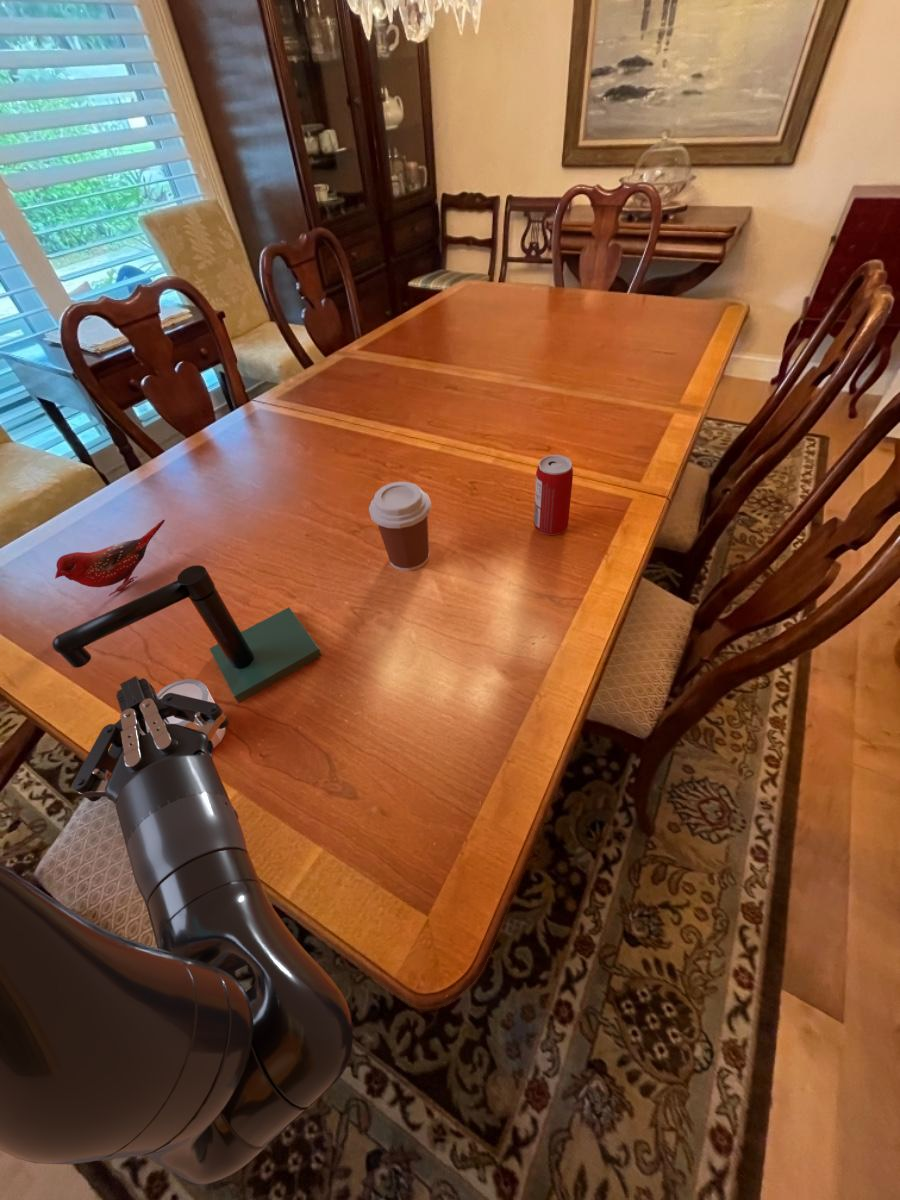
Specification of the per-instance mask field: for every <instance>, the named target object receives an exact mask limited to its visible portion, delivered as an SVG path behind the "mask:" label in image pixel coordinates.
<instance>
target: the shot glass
mask: <svg viewBox="0 0 900 1200" xmlns="http://www.w3.org/2000/svg"><path fill="white" fill-rule="evenodd" d="M167 693H174V694H179V695H183V696H187V697H191V698H195V699H200V700H204V701H208V702H212V703H216V702H215V700H214V697H212V695H211V693H210V691H209V689H208V686H206V684H205V683H204V682H202V681H200V680H199V679H193V678H185V679H180V680H176V681H173V682H171V683H170V684H167V685H166V686H164V687H163V688H162V689H161V690H159V691H158V693H156V695H157V698H158V699H162V697H163V696H164V695H165V694H167ZM167 719H168V721H169V722H170V724H177V725H181V726H184V727H187V728H191V729H194V730H197V731H199V728H198V726H197V725H196V724H195V723H194V722H190V721H186V720H182V719H178V718H175V717H174V716H171V717H167ZM226 731H227V726H226V727H225V728H223V729H217V731H216V732H215V734H214V735H213V737H212V739H211V741H212V743H213V749H215V748H216V747H217V746H218V745H219V744H220V743H221V742H222V741H223V738H224V737H225V734H226Z"/></svg>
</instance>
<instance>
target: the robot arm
mask: <svg viewBox="0 0 900 1200" xmlns="http://www.w3.org/2000/svg"><path fill="white" fill-rule="evenodd" d="M120 688H121V689H118V690H116V691H117V692H116V699H117V703H118V706H119V709H120V712H121V714H120V715H119V720H117V722H116V723H108V724H107V725H105V726H103V727H102V729H101V730H100V732H99V734H98V736H97V737H96V739H95V741H94V743H93V745H92V747H91V748H90V750H89V753H88V754H87V756H86V758H85V759H84V761H83V763H82V765H81V767H80V768H79V771H78V773H77V774H76V776H75V777H74V780H73V782H72V784H71V787H72V789H73V790H75V791H76V792H77V793H78V794H79V795H81V796H82V797H83V798H85V799H87V800H88V801H90V802H92V803H93V802H97V801H100V799H102V798H107V799H108V800H109V801H111V802H112V803H113V804H114V805H115V810H116V812H117V813H116V814H117V818H118V821H119V826H120V829H121V834H122V836H123V840H124V844H125V848H126V852H127V856H128V859H129V864H130V867H131V871H132V875H133V878H134V881H135V885H136V886H137V888H138V889H137V890H138V891H139V893H140V895H141V897H142V899H143V901H144V904H145V907H146V910H147V914H148V917H149V921H150V925H151V929H152V932H153V936H154V940H155V943H156V944H155V945H156V947H154V946H151V945H147V944H144V943H142V942H139V941H136V940H133V939H131V938H129V937H126V936H123V935H121V934H119V933H116V932H113V931H112V930H110V929H107V928H105V927H103V926H100V925H99V924H97V923H95V922H93V921H91V920H90V919H87V918H86V917H84V916H83V915H80V914H79V913H77V912H75V911H74V910H72V909H70V908H69V907H68V906H66V905H64V904H62V903H61V902H59V901H57V900H56V899H55V898H53V897H51V896H50V895H48V894H47V893H46V892H44V891H43V890H41V889H40V888H38V887H36V886H35V885H33V884H32V883H30V882H29V881H27V880H25V879H24V878H22V877H20V876H19V875H18V874H16V872H14V871H12V870H10V869H9V868H7V867H6V866H5V865H2V864H1V863H0V1151H1V1152H3V1153H5V1154H7V1155H9V1156H11V1157H13V1158H14V1159H17V1160H20V1161H24V1162H29V1163H33V1164H43V1165H76V1164H83V1163H85V1164H86V1163H91V1162H100V1161H109V1160H117V1159H126V1158H127V1159H128V1158H135V1157H146V1158H147V1159H149V1160H150V1161H152V1162H153V1163H155V1164H157V1165H158V1166H161V1167H163V1168H165V1169H166V1170H169V1171H170V1172H172V1173H174V1174H176V1175H177V1176H179V1177H181V1178H182V1179H184V1180H185V1181H188V1182H189V1183H192V1184H194V1185H208V1184H212V1183H216V1182H218V1181H221V1180H223V1179H225V1178H228V1177H230V1176H232V1175H234V1174H235V1173H237V1172H238V1171H240V1170H241V1169H243V1168H244V1167H246V1166H247V1165H248V1164H249V1163H250V1162H252V1161H253V1160H254V1159H255V1158H257V1156H259V1155H260V1154H261V1152H263V1151H264V1150H265V1149H266V1148H267V1147H268V1146H269V1145H270V1144H271V1143H272V1142H273V1141H275V1140H276V1139H277V1137H279V1136H280V1135H281V1134H282V1133H283V1132H284V1131H285V1130H286V1129H287V1128H288V1127H289V1126H291V1124H292V1123H294V1122H295V1120H297V1119H298V1118H299V1117H300V1116H301V1115H302V1114H303V1113H304V1112H305V1111H306V1110H308V1108H310V1107H311V1106H312V1105H313V1104H314V1103H315V1102H317V1100H319V1099H320V1098H321V1097H322V1096H323V1095H324V1094H325V1093H326V1092H327V1091H328V1090H330V1089H331V1088H332V1087H333V1086H334V1085H335V1084H336V1083H337V1082H338V1080H339V1079H340V1078H341V1076H343V1074H344V1072H345V1071H346V1069H347V1067H348V1065H349V1062H350V1059H351V1056H352V1050H353V1043H354V1025H353V1021H352V1013H351V1010H350V1007H349V1004H348V1001H347V999H346V998H345V995H344V993H343V992H342V990H341V989H340V988H339V985H337V984H336V982H335V981H334V980H333V979H332V977H331V976H330V975H329V974H328V973H327V972H326V971H325V970H324V968H323V967H322V966H321V965H320V964H319V963H318V962H317V961H316V960H315V959H314V958H313V957H312V956H311V955H310V954H309V952H308V951H306V949H305V948H304V947H303V945H301V943H300V942H299V941H298V940H297V939H296V938H295V936H294V935H293V934H292V932H291V931H290V930H289V929H288V927H287V926H286V924H285V922H283V920H282V919H281V918H280V916H279V914H278V913H277V912H276V910H275V909H274V907H273V905H272V903H271V902H270V899H269V898H268V896H267V894H266V891H265V889H264V886H263V885H262V883H261V880H260V878H259V875H258V873H257V871H256V868H255V866H254V864H253V861H252V859H251V856H250V854H249V851H248V848H247V843H246V838H245V835H244V831H243V829H242V825H241V822H240V820H239V814H238V812H237V810H236V808H235V807H234V806H233V804H232V802H231V800H230V797H229V795H228V793H227V791H226V788H225V786H224V784H223V780H222V779H221V776H220V774H219V772H218V770H217V767H216V764H215V762H214V760H213V751H214V748H213V743H212V741H211V739H212V737H213V735H214V734H215V732H216V731H217V729H223V728H225V727H226V728H227V727H228V725H229V724H230V719H229V718H228V716H227V715H226V714H225V712H224V711H223V709H222V707H221V706H220V705H219V704H218V703H216V702H215V703H212V702H208V701H204V700H200V699H195V698H191V697H187V696H183V695H179V694H174V693H167V694H165V695H164V696H163V697H162V699H158V698H157V695H156V694H157V693H156V690H155V688H154V686H153V685H152V684H151V683H150V681H148V679H146V678H145V677H142V678H139V677H138V676H137V675H135V676H133V677H131V678H129V679H126V680H125V681H123V682H121V683H120ZM171 716H174V717H175V718H178V719H182V720H186V721H190V722H194V723H195V724H196V725H197V726H198V728H199V731H197V730H194V729H191V728H187V727H184V726H181V725H177V724H170V722H169V721H168V719H167V717H171ZM244 967H248V968H249V969H250V971H251V973H252V975H253V979H254V984H253V985H252V986H251V987H250V988H248V989H247V990H246V989H245V987H243V985H242V984H241V983H240V981H238V979H237V978H235V977H234V976H233V975H232V973H234V972H236V971H238V970H240V969H243V968H244Z"/></svg>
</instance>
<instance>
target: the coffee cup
mask: <svg viewBox="0 0 900 1200" xmlns="http://www.w3.org/2000/svg"><path fill="white" fill-rule="evenodd" d="M368 506H369V507H368V512H369V515H370V519H371V520H372V521H373V522H374V523H375V524H376V525H377V527H378V529H379V532H380V536H381V539H382V542H383V545H384V548H385V551H386V554H387V557H388V560H389V563H390V566H392V567H393V568H394V569H395V570H399V571H401V572H413V571H416V570H419V569H420V568H422V567H424V566H425V565H426V564H427V563H428V561H429V558H430V543H429V541H430V540H429V518H428V516H429V514H430V512H431V508H432V501H431V498H430V497H429V494H428V493H426V492H425V491H423V490H422V489H421V487H419V486H418V484H416V483H413V482H409V481H394V482H390V483H387V484H385V485H383V486H381V487H380V488H379V489H378V490H377V491H376V492H375V493H374V497H373V499H372V500H371V502H370V503H369V505H368Z"/></svg>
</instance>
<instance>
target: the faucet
mask: <svg viewBox="0 0 900 1200" xmlns="http://www.w3.org/2000/svg"><path fill="white" fill-rule="evenodd" d="M189 600H190V602H191V604H192V605H193V607H194V608H195V609H196V611H197V612H198V614H199V616H200V618H201V619H202V621H203V623H204V624H205V625H206V627H207V629H208V630H209V631H210V633H211V635H212V637H213V638H214V640H215V641H216V643H217V644H215V645H213V646H211V647H209V649H208V650H209V651H210V653H211V655H212V657H213V659H214V660H215V663H216V665H217V666H218V669H219V670H220V673H221V674H222V676H223V678H224V680H225V682H226V684H227V685H228V687H229V689H230V692H231V693H232V695H233V697H234V699H235V700H236V702H237V703H238V704H239V703H241V702H243V701H244V700H246V699H248V698H250V697H252V696H253V695H256V694H257V693H259V692H260V691H262V690H264V689H265V688H267V687H270V686H272V684H274V683H276V682H278V681H280V680H282V679H283V678H285V677H287V676H288V675H289V676H290V674H292V673H294V672H296V671H297V670H300V669H301V668H303V667H305V666H306V665H308V664H309V663H312V662H313V661H315V660H318V659H319V658H320V657H323V655H322V652H321V649H320V647H319V646H318V645H317V644H316V642H315V640H314V639H313V638H312V637H311V635H310V634H309V633H308V631H307V630H306V628H305V627H304V626H303V624H302V623H301V622H300V620H299V619H298V618H297V617H298V616H296V615H295V613H294V611H293V610H292V608H291V607H290V606H288V607H286V608H285V609H282V610H280V611H279V612H277V613H274V614H272V615H270V616H268V617H267V618H265V619H263V620H262V621H259V622H257V623H256V624H253V625H252V626H250V627H248V628H246V629H243V630H242V631H241V630H240V628H239V626H238V625H237V623H236V621H235V620H234V618H233V616H232V613H231V612H230V610H229V609H228V607H227V605H226V604H225V602H224V600H223V598H222V597H221V595H220V593H219V591H218V589H217V588H216V586H215V587H214V590H213V591H212V592H211V593H210V594H209V595H208V596H206V597H204V598H202V599H197V600H194V599H190V598H189Z"/></svg>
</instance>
